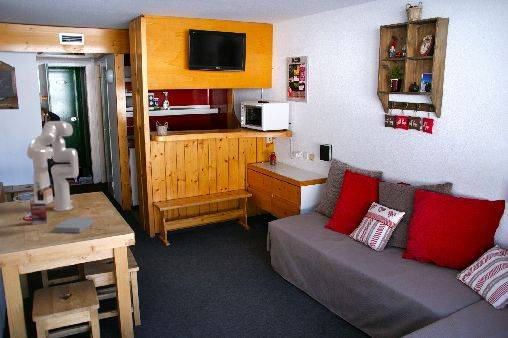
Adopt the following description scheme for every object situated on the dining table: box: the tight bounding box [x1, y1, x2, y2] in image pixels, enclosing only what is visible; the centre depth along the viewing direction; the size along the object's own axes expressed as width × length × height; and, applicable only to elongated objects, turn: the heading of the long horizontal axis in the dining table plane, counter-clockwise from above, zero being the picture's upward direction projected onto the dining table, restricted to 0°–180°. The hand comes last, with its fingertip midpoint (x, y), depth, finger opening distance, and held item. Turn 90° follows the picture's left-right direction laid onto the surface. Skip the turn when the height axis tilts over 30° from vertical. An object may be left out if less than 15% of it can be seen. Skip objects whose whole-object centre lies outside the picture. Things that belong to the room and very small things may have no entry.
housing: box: [33, 187, 54, 205], centre depth 261 cm, size 6×8×8 cm
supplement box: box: [29, 198, 48, 226], centre depth 275 cm, size 9×5×16 cm, turn 117°
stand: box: [53, 217, 94, 234], centre depth 269 cm, size 18×16×3 cm
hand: (43, 198), depth 262 cm, fingers closed on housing, 6 cm apart
